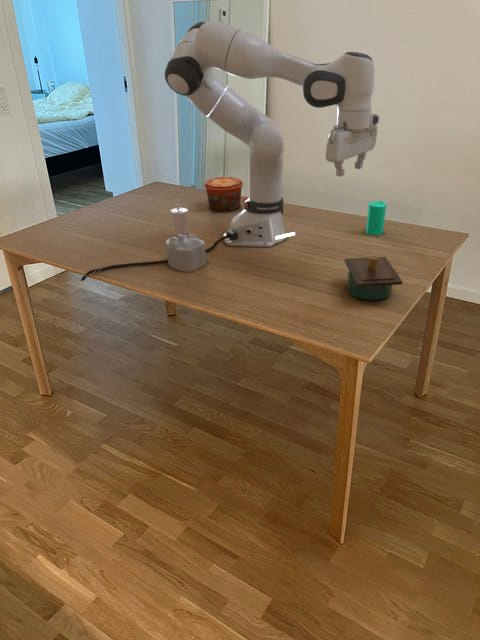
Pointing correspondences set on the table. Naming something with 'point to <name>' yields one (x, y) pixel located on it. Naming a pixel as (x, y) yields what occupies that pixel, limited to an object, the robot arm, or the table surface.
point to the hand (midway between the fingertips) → (349, 172)
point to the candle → (376, 218)
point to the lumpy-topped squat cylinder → (185, 252)
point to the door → (372, 271)
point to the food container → (224, 193)
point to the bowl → (368, 290)
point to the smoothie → (179, 219)
